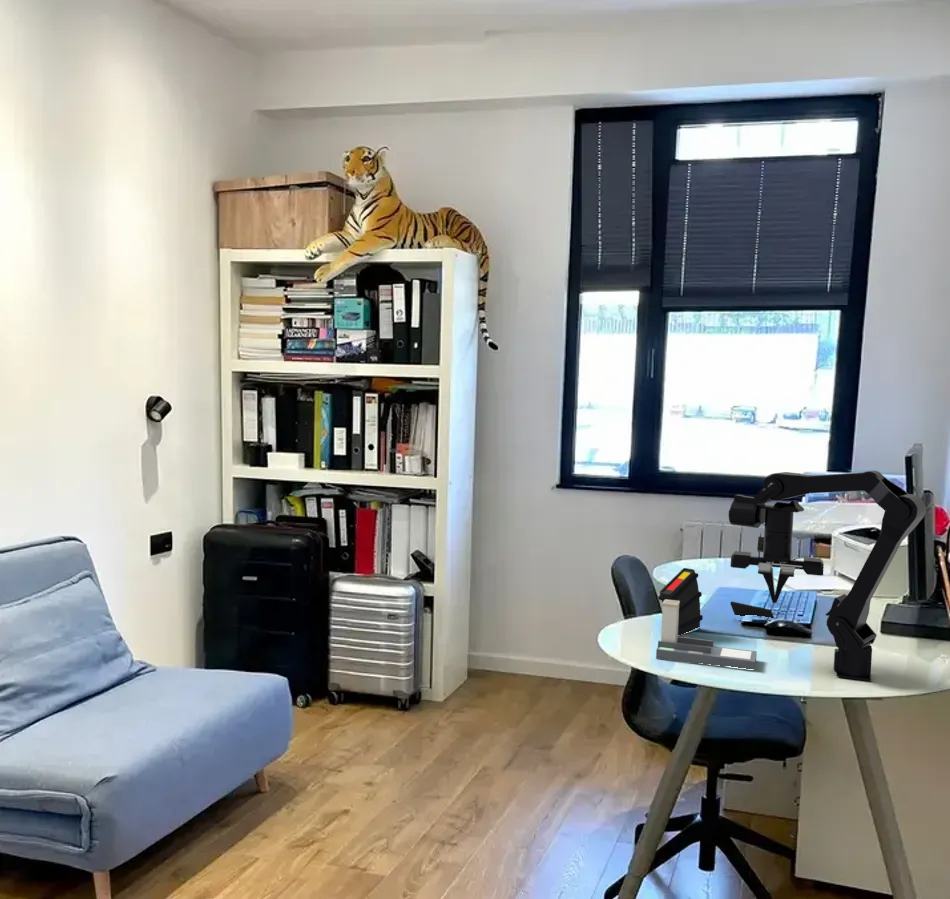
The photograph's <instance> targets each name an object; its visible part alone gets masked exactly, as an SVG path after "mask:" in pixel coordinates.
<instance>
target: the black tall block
mask: <svg viewBox="0 0 950 899" xmlns="http://www.w3.org/2000/svg"><path fill="white" fill-rule="evenodd" d="M698 577H699V573H697V572H696V570H695V569H692V568H687V567H683V568H682V569H681V570H680V571H678V573H677V574H676V575H675V576H674V577H672V579H671V580H670V581H669V582H668V583H667V584H666V585H665V586H664V587H662V589H660V590H659V596H658V600H659V601H661V604H662V603H663V601H664V600H665V599H667V600H676V601H680V604H679V618H678V635H680V636H682V635H681V634H684V633H686V632H689V631H691V630H693V629H695V628H698V627H700V628H701V621H703V617H704V616H703V615H702V614H701V599H700V598H701V597H702V596H703V595H702V592H701V591H699V582H698ZM661 615H662V610H661ZM684 635H685V634H684Z"/></svg>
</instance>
